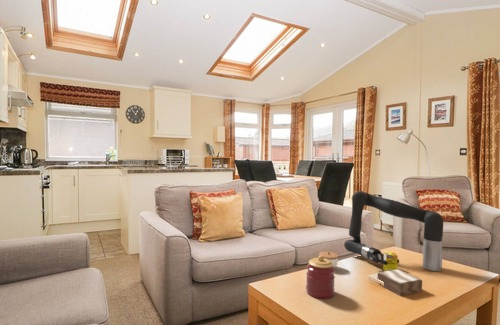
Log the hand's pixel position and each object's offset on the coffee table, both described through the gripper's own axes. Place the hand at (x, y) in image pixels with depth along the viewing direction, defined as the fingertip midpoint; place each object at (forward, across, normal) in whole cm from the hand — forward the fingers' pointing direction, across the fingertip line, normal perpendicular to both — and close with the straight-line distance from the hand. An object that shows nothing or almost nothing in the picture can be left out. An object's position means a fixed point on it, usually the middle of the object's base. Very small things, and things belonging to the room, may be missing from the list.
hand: (392, 262), depth 165 cm
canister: (+6, -52, +7) cm, 53 cm away
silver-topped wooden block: (+14, -11, +6) cm, 19 cm away
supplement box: (-2, 0, +7) cm, 7 cm away
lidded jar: (-19, -29, +7) cm, 35 cm away
